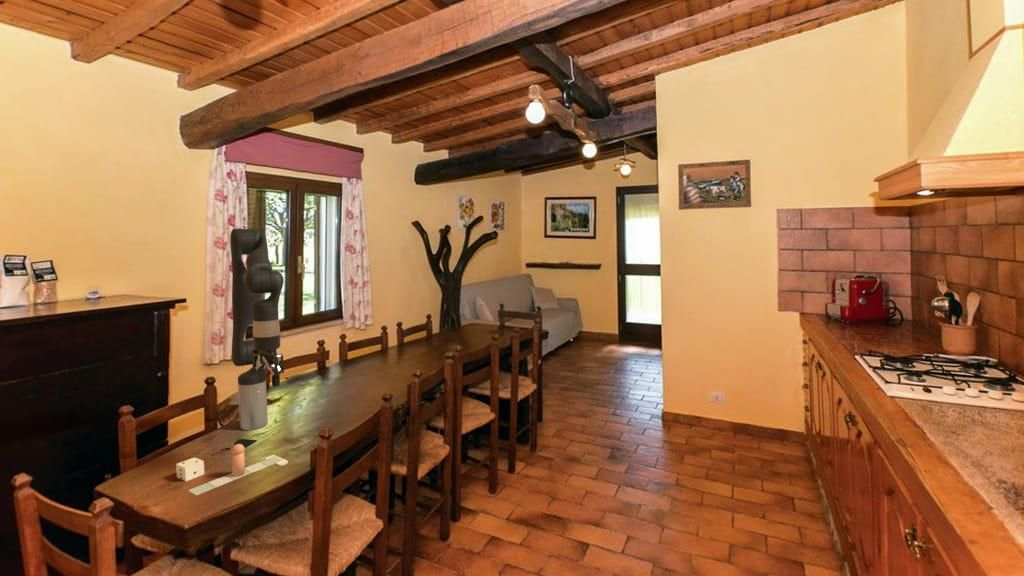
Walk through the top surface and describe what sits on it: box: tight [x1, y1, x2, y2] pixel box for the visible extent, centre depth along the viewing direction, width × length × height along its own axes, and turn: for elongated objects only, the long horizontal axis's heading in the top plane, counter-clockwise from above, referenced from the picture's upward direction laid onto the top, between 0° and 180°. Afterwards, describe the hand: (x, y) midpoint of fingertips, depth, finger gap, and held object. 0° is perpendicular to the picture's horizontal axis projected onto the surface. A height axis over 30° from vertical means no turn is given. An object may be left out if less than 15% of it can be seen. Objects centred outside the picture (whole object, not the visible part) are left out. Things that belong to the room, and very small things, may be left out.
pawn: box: [230, 444, 246, 477], centre depth 136 cm, size 3×3×9 cm
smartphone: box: [210, 438, 258, 457], centre depth 156 cm, size 7×1×15 cm
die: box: [175, 457, 205, 482], centre depth 136 cm, size 5×5×5 cm
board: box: [187, 454, 289, 496], centre depth 137 cm, size 8×26×1 cm, turn 148°
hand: (268, 383), depth 147 cm, fingers open, 8 cm apart
